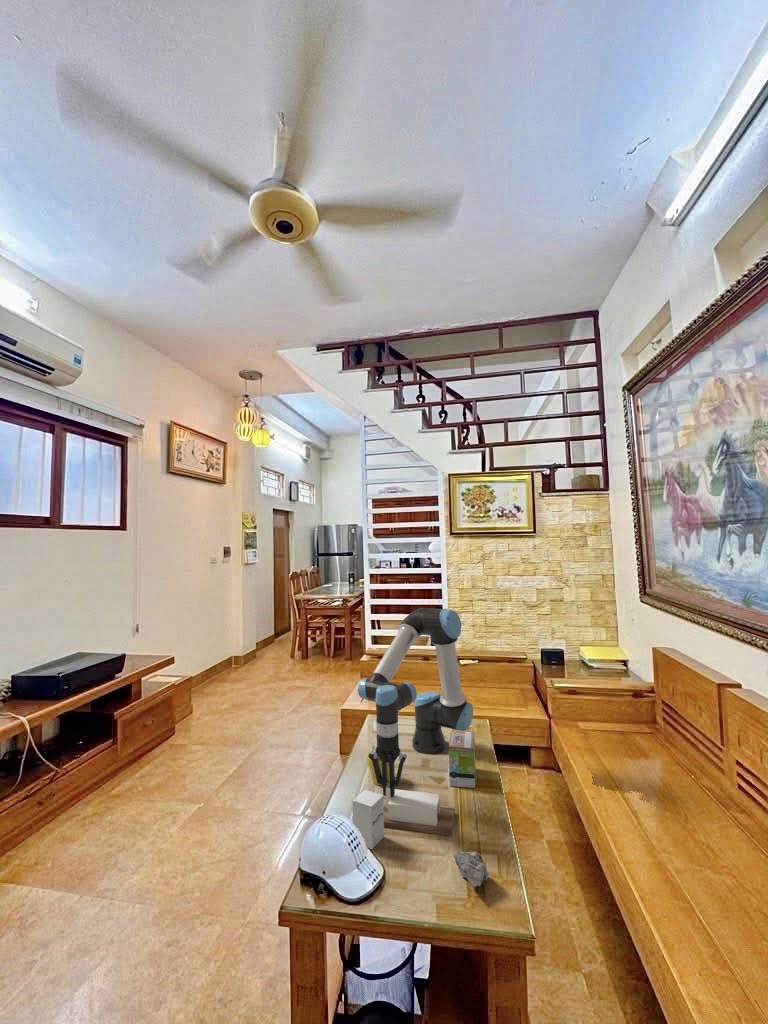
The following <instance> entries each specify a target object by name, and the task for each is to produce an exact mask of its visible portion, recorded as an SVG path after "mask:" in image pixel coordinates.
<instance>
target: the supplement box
mask: <svg viewBox="0 0 768 1024" xmlns="http://www.w3.org/2000/svg"><path fill="white" fill-rule="evenodd" d="M351 801H352V825H353V824H354V825H355V826H356V827H357V828H358V829H359V831H360V832H361V834H362V835H363V837H364V839H365V841H366V843H367V844H368V846H369V848H370V849H372V850H373V849H374V848H375V847H376V846H377V845H378V843H380V841H381V840H383V838H384V837H385V827H384V805H385V803H384V795H383V794H380V793H378V792H374V791H371V790H368V789H365V790H362V792H361V793H359V795H357V796H356V797H355V798H354V799H353V800H351ZM370 849H369V850H370Z"/></svg>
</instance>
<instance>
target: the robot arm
mask: <svg viewBox="0 0 768 1024" xmlns="http://www.w3.org/2000/svg"><path fill="white" fill-rule="evenodd" d="M461 634H462V621H461V617H460V615H459V614H458V613H457V612H456V610H453V609H448V608H433V607H431V608H429V607H420V608H417V609H415V610H413V611H411V613H410V612H409V614H408V615H406V616H405V617H404V619H403V620H401V622H400V624H399V626H398V627H397V634H395V636H394V638H393V640H391V641H392V642H391V643H390V645H389V646H388V647H387V650H386V651H385V653H384V655H383V656H382V657H381V658H380V661H379V663H378V664H377V665H376V668H375V669H374V671H373V672H372V674H371V675H370V677H369V678H368V677H366V678H365V677H364V678H362V679H361V680H359V682H358V685H357V694H358V697H360V699H363V700H366V701H369V702H374V703H375V711H376V712H375V713H376V715H375V716H376V717H375V718H376V719H375V720H376V722H375V723H376V724H375V725H376V726H375V727H376V748H375V750H376V751H374V752H373V750H371V751H372V752H371V751H370V752H371V754H370V756H369V757H370V759H371V760H372V762H373V766H374V771H375V775H376V779H377V783H378V784H381V785H380V786H382V795H383V797H385V803H386V808H388V802H389V800H390V798H391V797H393V796H394V794H395V789H396V788H395V787H398V786H399V784H400V783H401V782H400V781H401V777H402V774H403V768H404V764H405V762H406V760H407V758H408V757H407V754H403V753H402V752H401V749H400V747H399V746H400V743H399V742H400V741H399V739H400V738H399V711H401V710H403V709H404V708H406V707H408V706H410V705H411V704H412V703H414V715H415V716H414V719H415V723H414V724H415V729H414V733H413V735H412V736H413V737H412V742H411V743H412V748H413V750H415V751H417V752H419V753H422V754H437V753H440V752H442V751H445V749H446V747H447V745H446V739H445V736H444V732H443V730H442V728H443V727H444V728H447V729H452V730H454V731H461V732H467V730H468V729H469V728H470V726H471V724H472V720H473V716H474V706H473V704H472V703H471V702H468V701H467V700H468V699H467V696H466V695H465V693H463V691H462V682H461V676H460V671H459V670H460V669H459V662H458V654H457V648H456V643H457V642H458V639H459V637H460V635H461ZM420 636H429V638H430V643H432V645H434V646H435V652H436V653H435V654H436V661H437V667H438V675H439V681H440V686H441V687H440V688H441V694H442V695H441V694H440V692H438V691H433V690H432V691H430V690H429V691H423V692H421V693H418V692H417V689H416V687H415V685H414V684H413V683H411V682H409V681H405V682H401V683H395V682H391V681H392V680H393V677H394V676H395V674H396V672H397V671H398V669H399V668H400V665H401V664H402V662H403V660H404V659H405V657H406V655H407V653H408V651H409V650H410V648H411V646H412V644H413V642H416V641H417V640H418V638H419V637H420ZM377 755H378V756H379V758H380V760H381V761H382V774H381V770H380V766H379V762H378V758H377ZM397 759H398V760H399V763H398V767H397V771H396V772H395V761H396V760H397ZM387 762H388V763H389V773H390V779H389V782H388V776H387ZM395 773H396V775H395ZM387 782H388V783H387Z"/></svg>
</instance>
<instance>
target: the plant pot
mask: <svg viewBox="0 0 768 1024" xmlns="http://www.w3.org/2000/svg"><path fill="white" fill-rule="evenodd" d="M372 751H373V752H374V751H376V749H373V750H371V751H369V752H368V753H367V755H366V761H367V763H366V765H367V767H368V768H369V772H370V776H371V780H372V783H373V784H374V785H376V786H382V785H381V784H378V783H377V779H376V775H375V771H374V766H373V762H372V760H371V759H370V757H369V756H370V754H371V752H372ZM377 758H378V762H379V766H380V770H381V774H382V761H381V760H380V758H379V756H378V755H377ZM387 776H388V782H387V784H388V783H390V773H389V763H388V762H387Z"/></svg>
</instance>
